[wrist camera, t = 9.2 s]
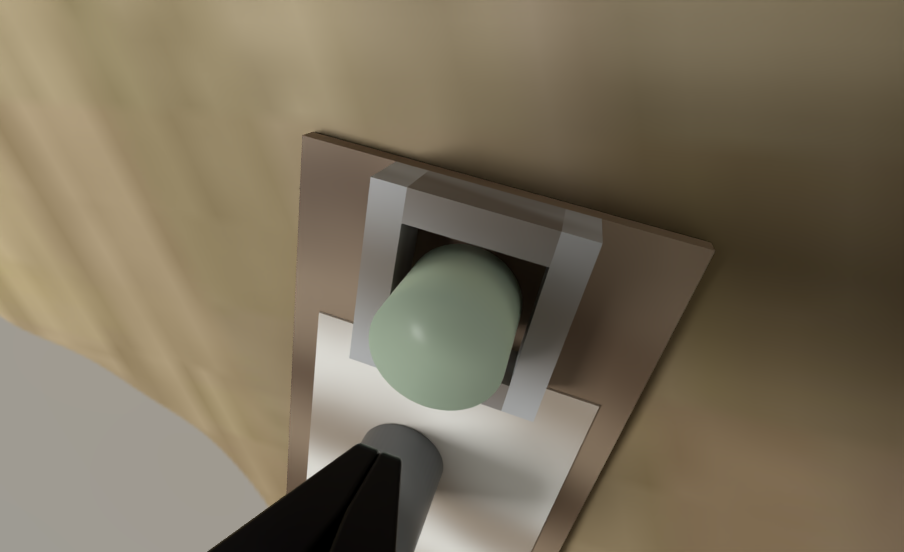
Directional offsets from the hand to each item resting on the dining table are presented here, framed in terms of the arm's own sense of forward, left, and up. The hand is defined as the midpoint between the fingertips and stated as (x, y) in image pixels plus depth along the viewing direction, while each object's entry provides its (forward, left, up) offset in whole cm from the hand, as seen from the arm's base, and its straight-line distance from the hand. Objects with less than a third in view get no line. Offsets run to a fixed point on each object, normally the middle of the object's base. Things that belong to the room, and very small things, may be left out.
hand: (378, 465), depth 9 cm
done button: (0, 0, -6) cm, 6 cm away
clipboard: (-7, 0, -8) cm, 11 cm away
